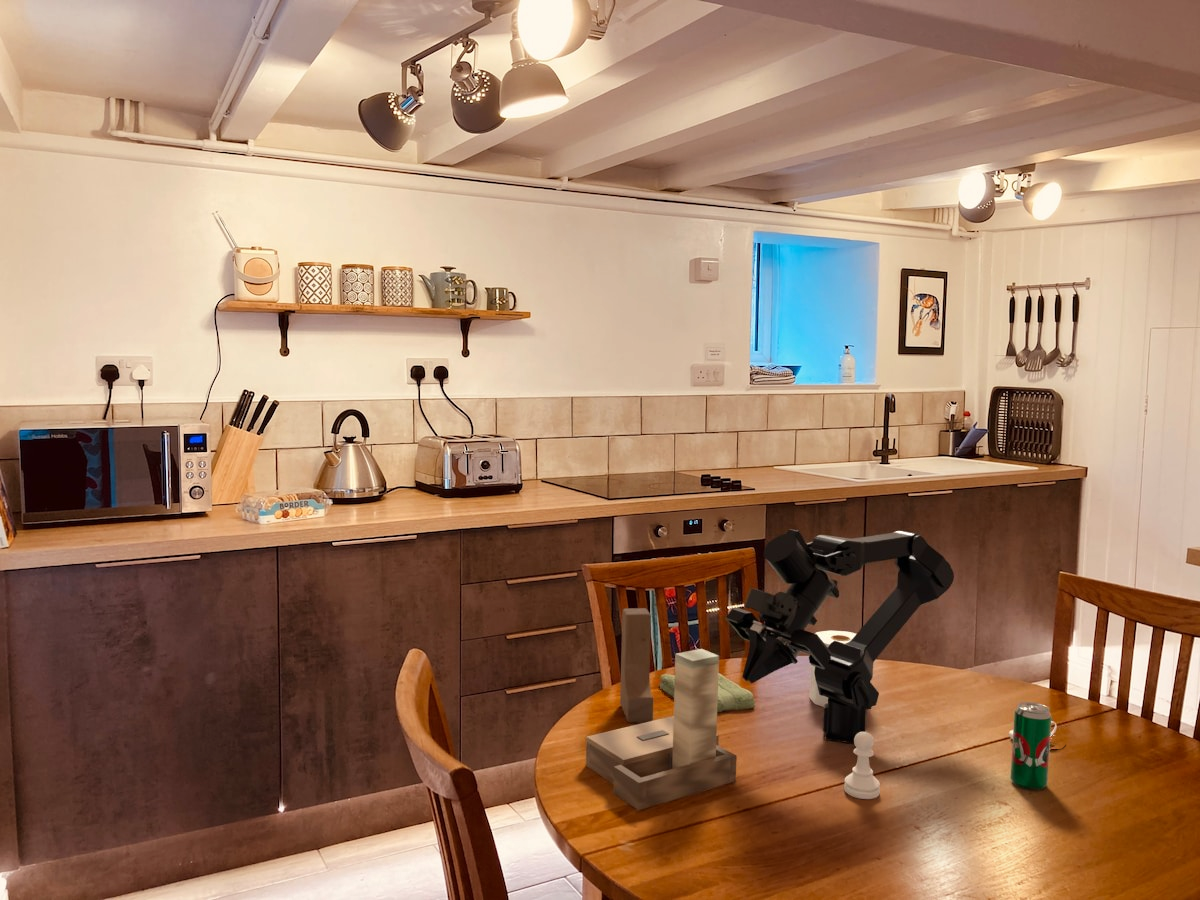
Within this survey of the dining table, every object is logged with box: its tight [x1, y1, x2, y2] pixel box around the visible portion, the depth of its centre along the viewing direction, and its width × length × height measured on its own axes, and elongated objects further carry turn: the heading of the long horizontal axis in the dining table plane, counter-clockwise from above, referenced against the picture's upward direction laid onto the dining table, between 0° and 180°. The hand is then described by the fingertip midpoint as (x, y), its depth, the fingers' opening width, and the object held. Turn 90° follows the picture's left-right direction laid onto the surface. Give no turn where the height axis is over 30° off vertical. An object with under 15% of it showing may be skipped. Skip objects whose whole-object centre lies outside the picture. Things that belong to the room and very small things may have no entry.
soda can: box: [1010, 701, 1053, 791], centre depth 141 cm, size 5×5×12 cm
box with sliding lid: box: [585, 715, 737, 811], centre depth 142 cm, size 20×16×5 cm
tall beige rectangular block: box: [672, 648, 720, 769], centre depth 140 cm, size 5×4×19 cm
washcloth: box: [659, 672, 756, 713], centre depth 176 cm, size 13×18×3 cm
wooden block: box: [619, 607, 654, 724], centre depth 166 cm, size 9×4×18 cm, turn 7°
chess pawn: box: [843, 731, 881, 800], centre depth 137 cm, size 5×5×9 cm
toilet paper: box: [809, 630, 857, 708], centre depth 175 cm, size 10×10×12 cm
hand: (746, 680), depth 145 cm, fingers closed
